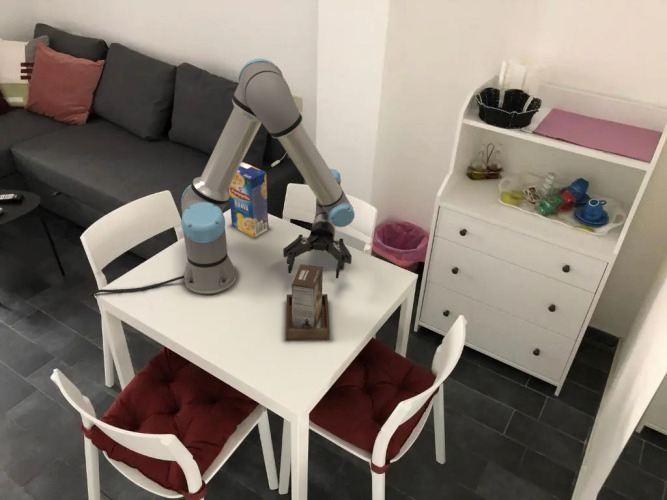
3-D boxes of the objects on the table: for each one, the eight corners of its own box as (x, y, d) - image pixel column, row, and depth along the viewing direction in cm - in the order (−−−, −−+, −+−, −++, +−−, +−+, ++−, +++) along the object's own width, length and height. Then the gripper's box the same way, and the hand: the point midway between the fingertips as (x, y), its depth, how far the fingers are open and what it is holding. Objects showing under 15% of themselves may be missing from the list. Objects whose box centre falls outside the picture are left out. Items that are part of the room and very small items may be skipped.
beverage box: (246, 218, 192) (242, 161, 179) (268, 229, 187) (266, 172, 174) (231, 226, 188) (226, 168, 175) (254, 237, 182) (251, 179, 169)
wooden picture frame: (286, 340, 144) (285, 330, 142) (286, 303, 156) (286, 294, 154) (329, 339, 145) (329, 329, 143) (327, 303, 157) (327, 293, 155)
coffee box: (300, 307, 154) (300, 262, 145) (322, 311, 153) (323, 266, 144) (291, 329, 147) (291, 283, 138) (314, 333, 146) (315, 287, 137)
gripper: (362, 244, 171) (356, 287, 154) (284, 237, 173) (270, 278, 156) (363, 224, 167) (358, 266, 149) (283, 217, 169) (269, 257, 151)
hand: (313, 272), depth 153 cm, fingers open, 13 cm apart
